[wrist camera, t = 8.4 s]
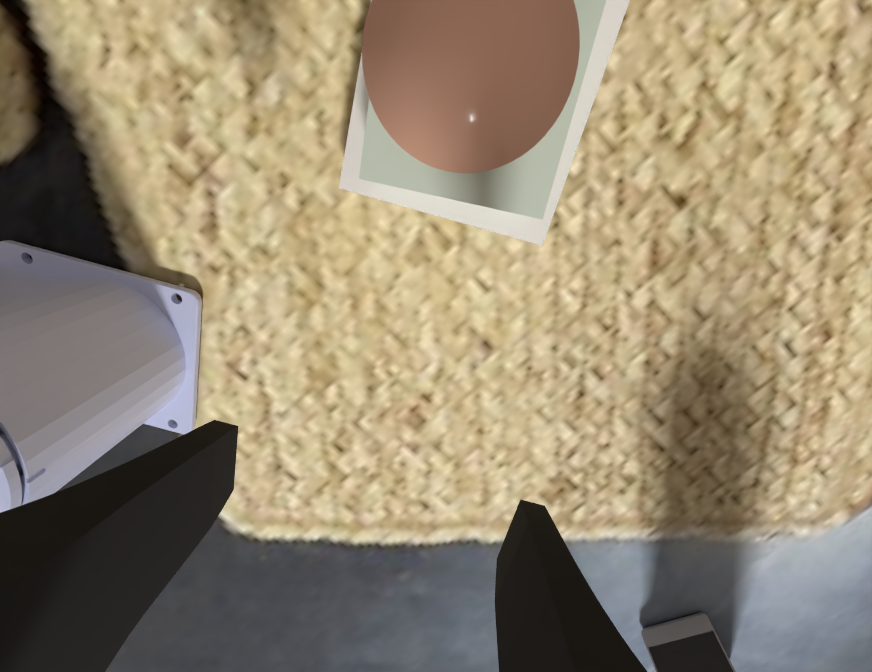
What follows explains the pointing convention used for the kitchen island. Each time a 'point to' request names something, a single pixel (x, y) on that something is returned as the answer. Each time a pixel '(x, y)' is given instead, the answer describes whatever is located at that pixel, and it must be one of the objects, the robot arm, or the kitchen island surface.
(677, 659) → the vintage mobile phone
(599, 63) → the tower base
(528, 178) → the tower top
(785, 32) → the kitchen island surface
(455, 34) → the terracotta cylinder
